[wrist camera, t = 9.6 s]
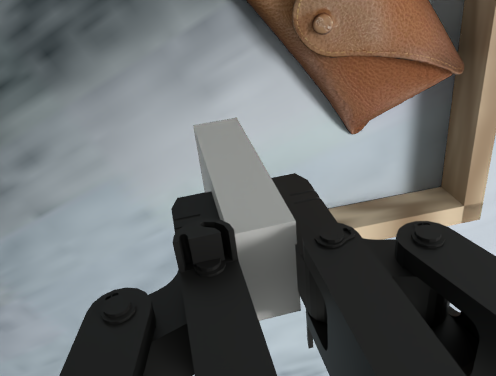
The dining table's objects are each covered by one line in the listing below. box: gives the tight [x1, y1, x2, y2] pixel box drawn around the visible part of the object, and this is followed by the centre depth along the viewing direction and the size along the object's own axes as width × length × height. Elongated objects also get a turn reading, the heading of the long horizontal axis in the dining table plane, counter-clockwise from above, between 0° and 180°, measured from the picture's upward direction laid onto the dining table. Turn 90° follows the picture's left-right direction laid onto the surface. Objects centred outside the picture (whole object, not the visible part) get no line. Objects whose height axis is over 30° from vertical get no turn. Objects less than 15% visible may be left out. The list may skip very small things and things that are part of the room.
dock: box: [328, 0, 496, 240], centre depth 28 cm, size 12×27×3 cm, turn 6°
